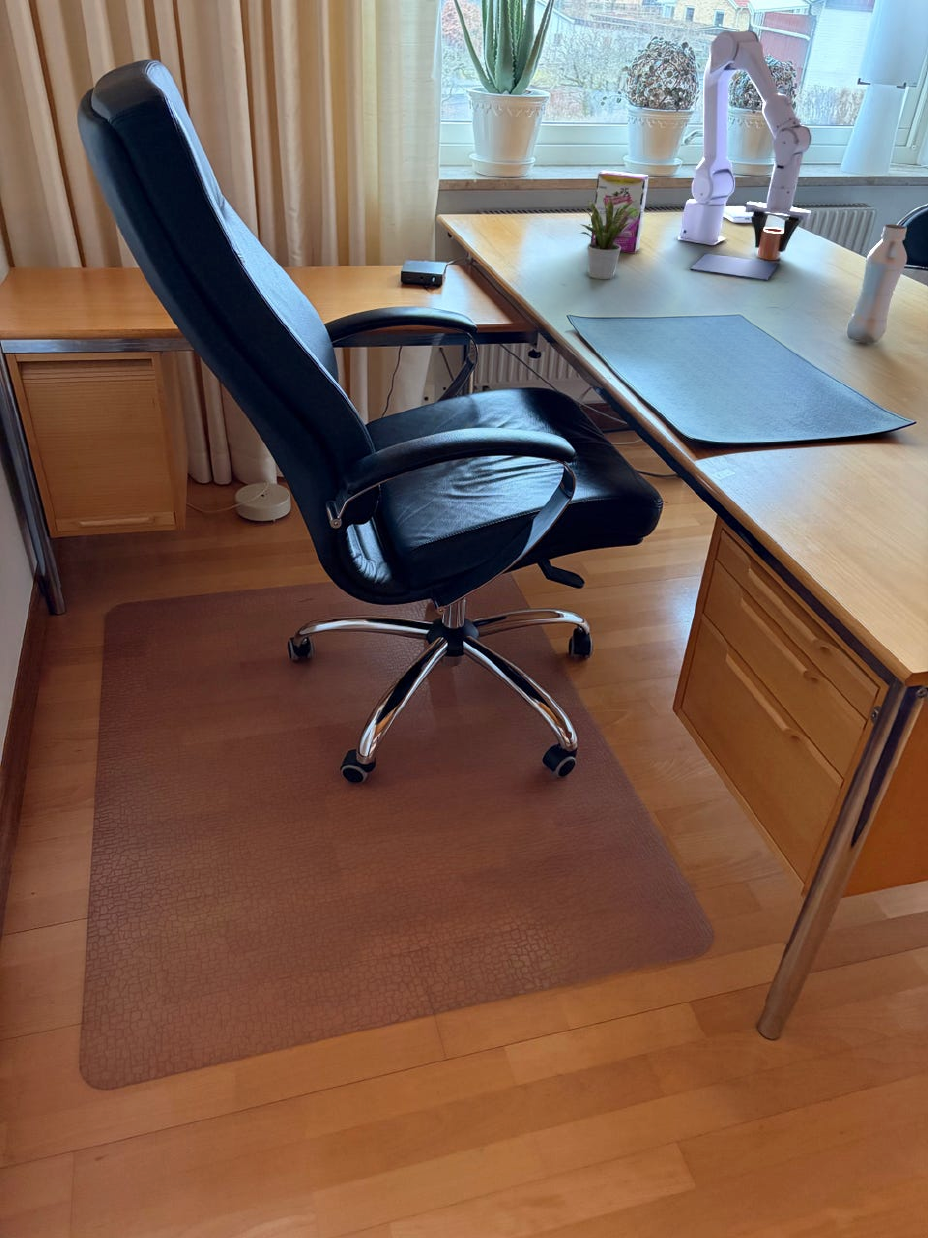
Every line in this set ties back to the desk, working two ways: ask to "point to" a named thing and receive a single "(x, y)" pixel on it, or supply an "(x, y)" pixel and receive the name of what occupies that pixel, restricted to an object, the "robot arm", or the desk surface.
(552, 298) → the desk surface
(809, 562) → the desk surface
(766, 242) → the cup
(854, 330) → the plastic bottle
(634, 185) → the candy bar box
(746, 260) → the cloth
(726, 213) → the hard drive
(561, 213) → the desk surface
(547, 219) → the desk surface
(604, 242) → the house plant
